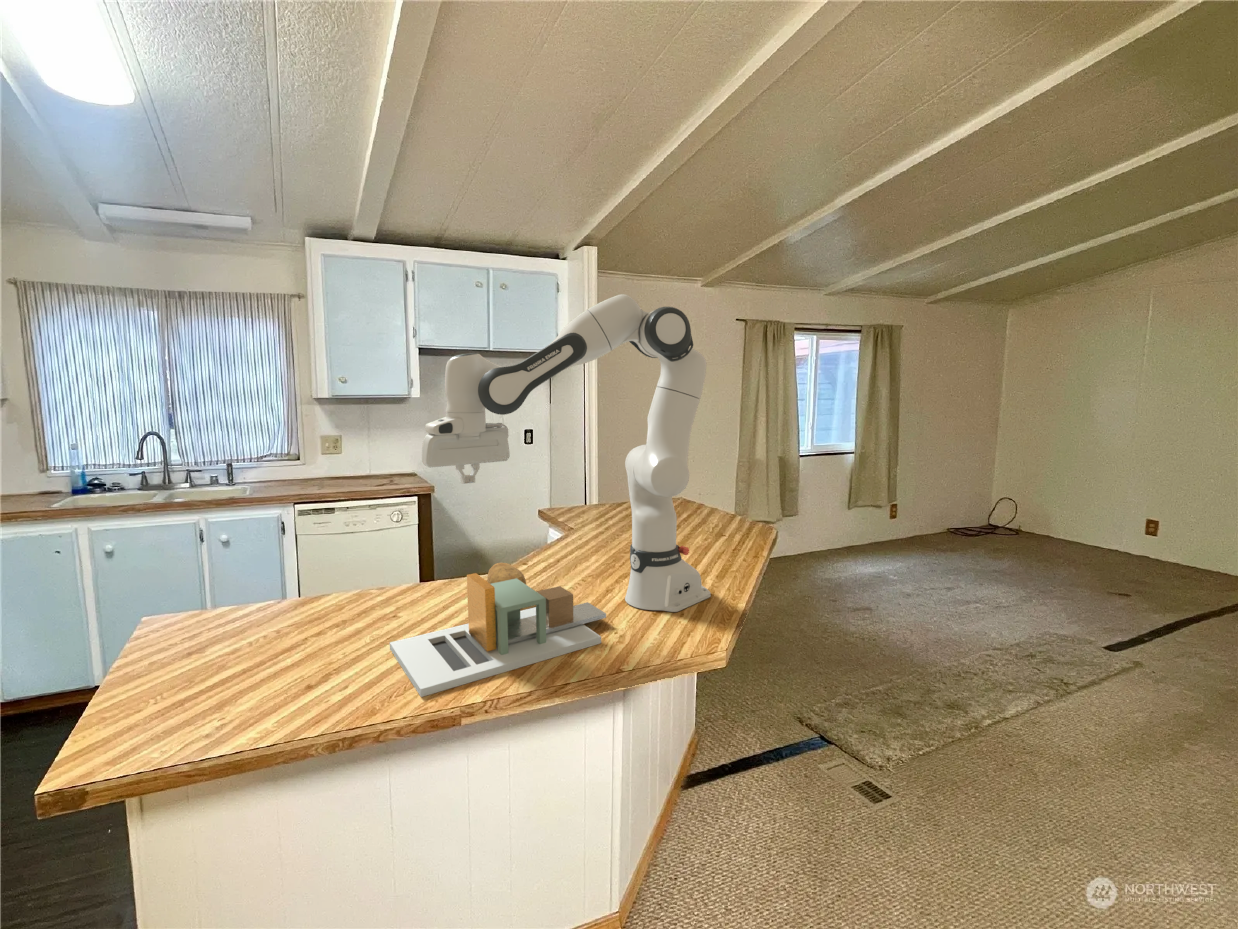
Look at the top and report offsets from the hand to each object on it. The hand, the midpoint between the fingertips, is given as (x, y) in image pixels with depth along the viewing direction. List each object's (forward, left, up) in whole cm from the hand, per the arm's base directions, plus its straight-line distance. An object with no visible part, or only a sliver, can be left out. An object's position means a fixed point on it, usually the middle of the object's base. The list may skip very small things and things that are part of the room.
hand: (468, 483), depth 139 cm
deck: (+3, +22, -31) cm, 38 cm away
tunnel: (0, +22, -30) cm, 37 cm away
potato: (-10, -2, -31) cm, 33 cm away
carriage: (-7, +22, -29) cm, 37 cm away
